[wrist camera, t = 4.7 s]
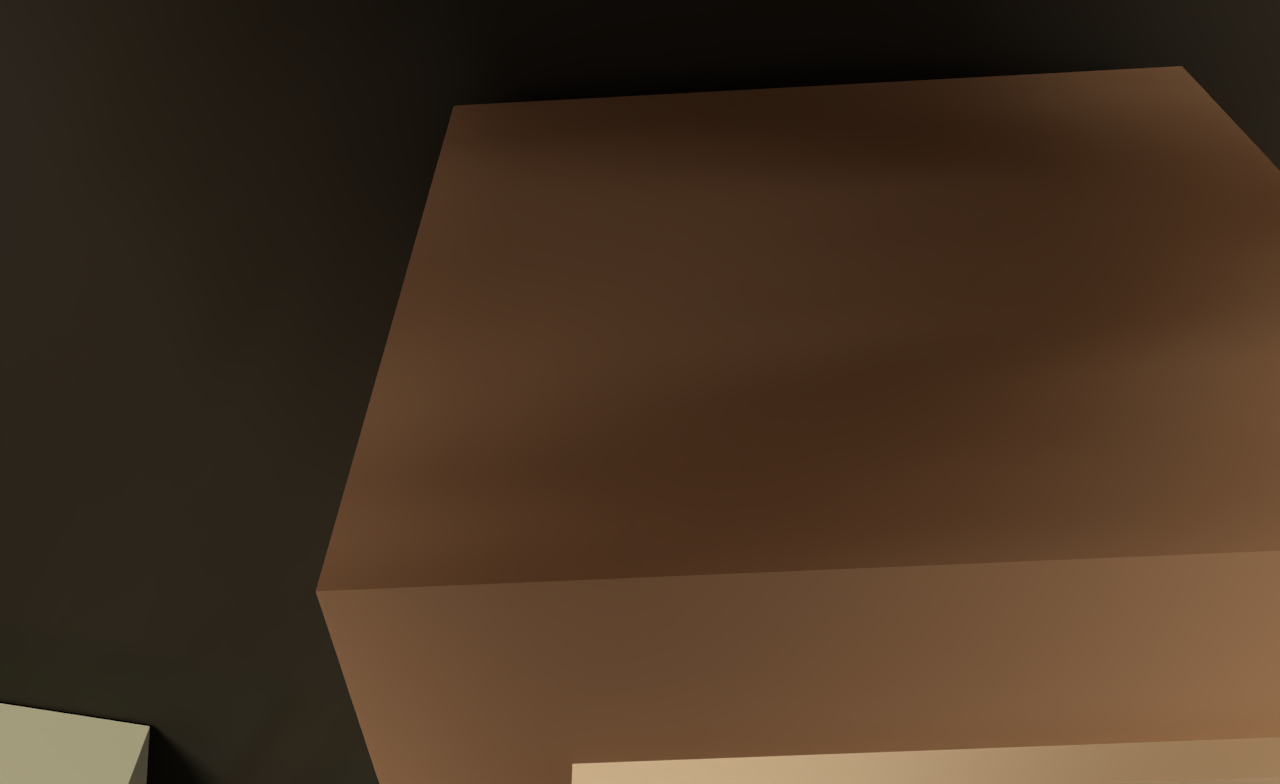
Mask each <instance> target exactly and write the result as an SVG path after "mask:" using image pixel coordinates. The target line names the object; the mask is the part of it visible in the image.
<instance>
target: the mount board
mask: <svg viewBox="0 0 1280 784" xmlns="http://www.w3.org/2000/svg"><path fill="white" fill-rule="evenodd" d="M149 733H150V726H145V725H138V724H132V723H126V722H119V721H113V720H106V719H100V718H93V717H87V716H80V715H74V714H67V713H61V712H54V711H48V710H41V709H35V708H28V707H22V706H15V705H9V704H2V703H0V784H146V782H147V765H148V749H149Z"/></svg>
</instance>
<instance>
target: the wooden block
mask: <svg viewBox="0 0 1280 784" xmlns="http://www.w3.org/2000/svg"><path fill="white" fill-rule="evenodd" d="M316 593H317V597H318V600H319V603H320V606H321V609H322V612H323V615H324V618H325V621H326V624H327V627H328V630H329V633H330V636H331V639H332V642H333V645H334V648H335V651H336V654H337V657H338V660H339V663H340V666H341V669H342V672H343V675H344V678H345V681H346V684H347V687H348V690H349V693H350V696H351V699H352V702H353V705H354V708H355V711H356V714H357V717H358V720H359V723H360V727H361V730H362V733H363V736H364V739H365V742H366V745H367V748H368V751H369V754H370V757H371V760H372V763H373V766H374V769H375V772H376V775H377V778H378V781H379V784H1280V170H1279V169H1278V168H1277V167H1276V166H1275V165H1274V164H1273V163H1272V162H1271V161H1270V160H1269V159H1268V158H1267V156H1266V155H1265V154H1264V153H1263V152H1262V151H1261V150H1260V149H1259V148H1258V147H1257V146H1256V145H1255V144H1254V143H1253V142H1252V140H1251V139H1250V138H1249V137H1248V136H1247V135H1246V134H1245V133H1244V132H1243V131H1242V130H1241V129H1240V128H1239V127H1238V125H1237V124H1236V123H1235V122H1234V121H1233V120H1232V119H1231V118H1230V117H1229V116H1228V115H1227V114H1226V113H1225V112H1224V111H1223V109H1222V108H1221V107H1220V106H1219V105H1218V104H1217V103H1216V102H1215V101H1214V100H1213V99H1212V98H1211V97H1210V96H1209V94H1208V93H1207V92H1206V91H1205V90H1204V89H1203V88H1202V87H1201V86H1200V85H1199V84H1198V83H1197V82H1196V81H1195V80H1194V78H1193V77H1192V76H1191V75H1190V74H1189V73H1188V72H1187V71H1186V70H1185V69H1184V68H1183V67H1182V66H1175V67H1157V68H1138V69H1120V70H1101V71H1083V72H1065V73H1046V74H1028V75H1010V76H991V77H973V78H954V79H936V80H918V81H899V82H881V83H862V84H844V85H826V86H807V87H789V88H770V89H752V90H734V91H715V92H697V93H679V94H660V95H642V96H623V97H605V98H587V99H568V100H550V101H532V102H513V103H495V104H476V105H458V106H453V110H452V113H451V117H450V120H449V124H448V127H447V131H446V135H445V138H444V142H443V145H442V149H441V152H440V156H439V159H438V163H437V166H436V170H435V173H434V177H433V180H432V184H431V187H430V191H429V194H428V198H427V201H426V205H425V208H424V212H423V215H422V219H421V223H420V226H419V230H418V233H417V237H416V240H415V244H414V247H413V251H412V254H411V258H410V261H409V265H408V268H407V272H406V275H405V279H404V282H403V286H402V289H401V293H400V296H399V300H398V304H397V307H396V311H395V314H394V318H393V321H392V325H391V328H390V332H389V335H388V339H387V342H386V346H385V349H384V353H383V356H382V360H381V363H380V367H379V370H378V374H377V377H376V381H375V385H374V388H373V392H372V395H371V399H370V402H369V406H368V409H367V413H366V416H365V420H364V423H363V427H362V430H361V434H360V437H359V441H358V444H357V448H356V451H355V455H354V458H353V462H352V465H351V469H350V473H349V476H348V480H347V483H346V487H345V490H344V494H343V497H342V501H341V504H340V508H339V511H338V515H337V518H336V522H335V525H334V529H333V532H332V536H331V539H330V543H329V546H328V550H327V554H326V557H325V561H324V564H323V568H322V571H321V575H320V578H319V582H318V585H317V589H316Z"/></svg>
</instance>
